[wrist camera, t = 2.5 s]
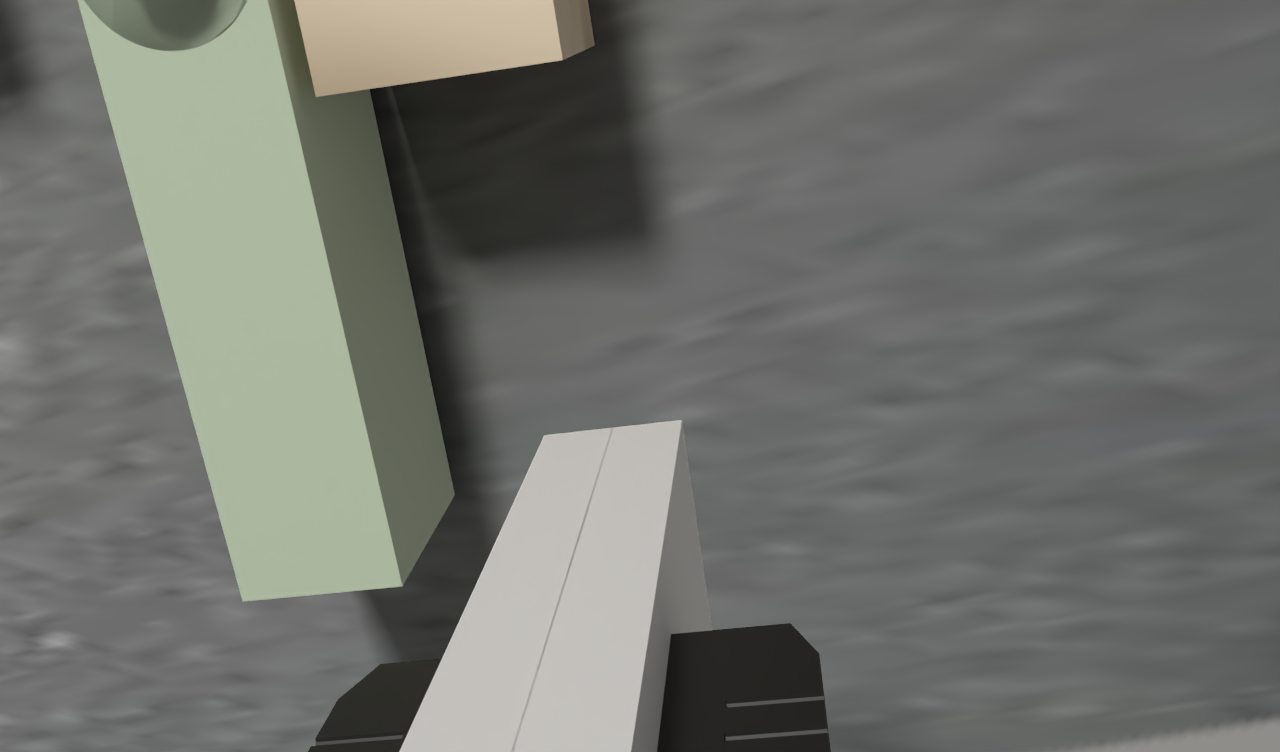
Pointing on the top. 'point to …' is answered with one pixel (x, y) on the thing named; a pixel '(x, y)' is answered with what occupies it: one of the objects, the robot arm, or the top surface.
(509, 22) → the stool frame
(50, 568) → the top surface
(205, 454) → the hinged leg
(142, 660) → the top surface
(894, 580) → the top surface
